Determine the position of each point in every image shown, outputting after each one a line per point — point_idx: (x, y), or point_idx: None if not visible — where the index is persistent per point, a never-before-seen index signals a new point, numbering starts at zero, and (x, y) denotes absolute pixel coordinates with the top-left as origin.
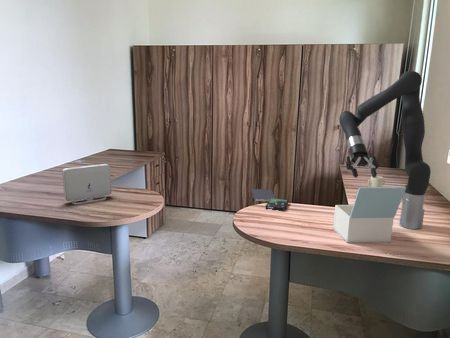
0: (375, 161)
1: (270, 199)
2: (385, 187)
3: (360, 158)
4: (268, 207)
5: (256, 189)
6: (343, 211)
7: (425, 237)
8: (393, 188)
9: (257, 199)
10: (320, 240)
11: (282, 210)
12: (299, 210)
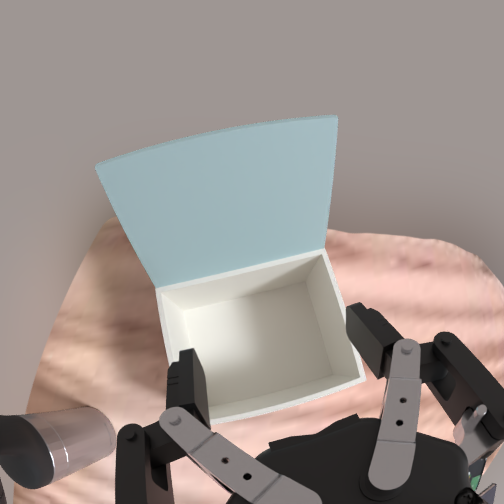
0: (134, 490)
1: None
2: (201, 135)
3: (376, 467)
4: None
5: None
6: (342, 307)
7: (80, 353)
8: (160, 146)
9: (490, 488)
10: (372, 278)
11: None
12: None
